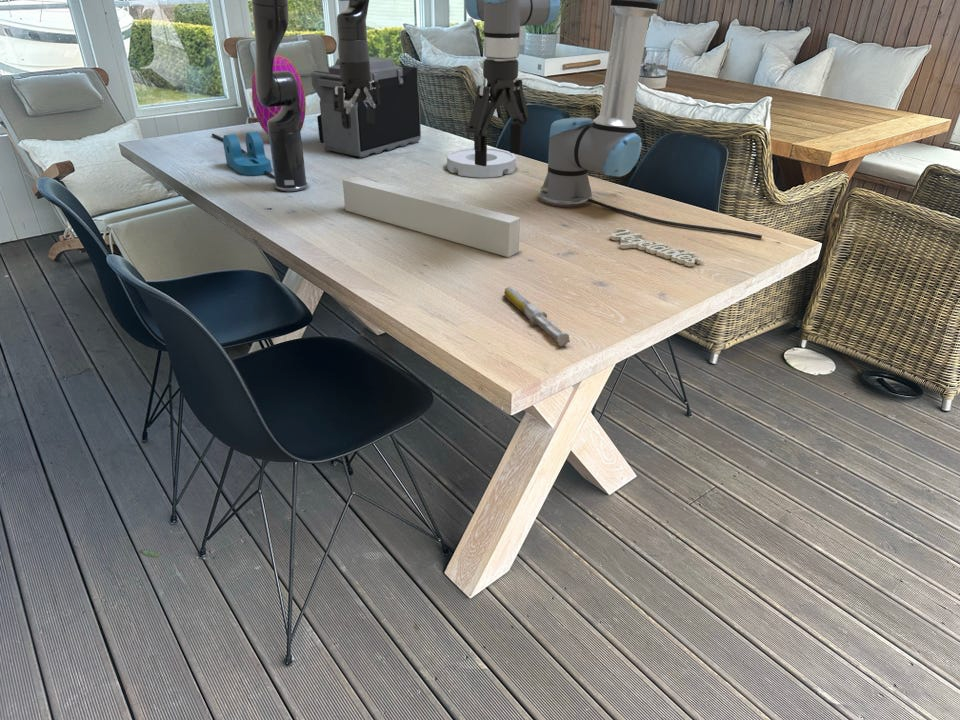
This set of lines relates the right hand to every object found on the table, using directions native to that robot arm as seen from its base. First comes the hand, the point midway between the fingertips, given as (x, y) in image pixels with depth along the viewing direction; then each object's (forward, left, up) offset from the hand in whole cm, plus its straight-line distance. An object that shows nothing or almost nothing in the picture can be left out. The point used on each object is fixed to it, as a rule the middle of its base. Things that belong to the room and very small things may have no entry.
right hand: (498, 159), depth 157 cm
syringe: (-22, +31, -22) cm, 44 cm away
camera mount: (+103, -30, -22) cm, 110 cm away
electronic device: (+85, -76, -22) cm, 116 cm away
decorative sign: (-34, -17, -22) cm, 44 cm away
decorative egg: (+120, -68, -22) cm, 139 cm away
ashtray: (+35, -66, -22) cm, 78 cm away
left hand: (+44, -9, +1) cm, 45 cm away
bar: (+22, -5, -22) cm, 32 cm away
